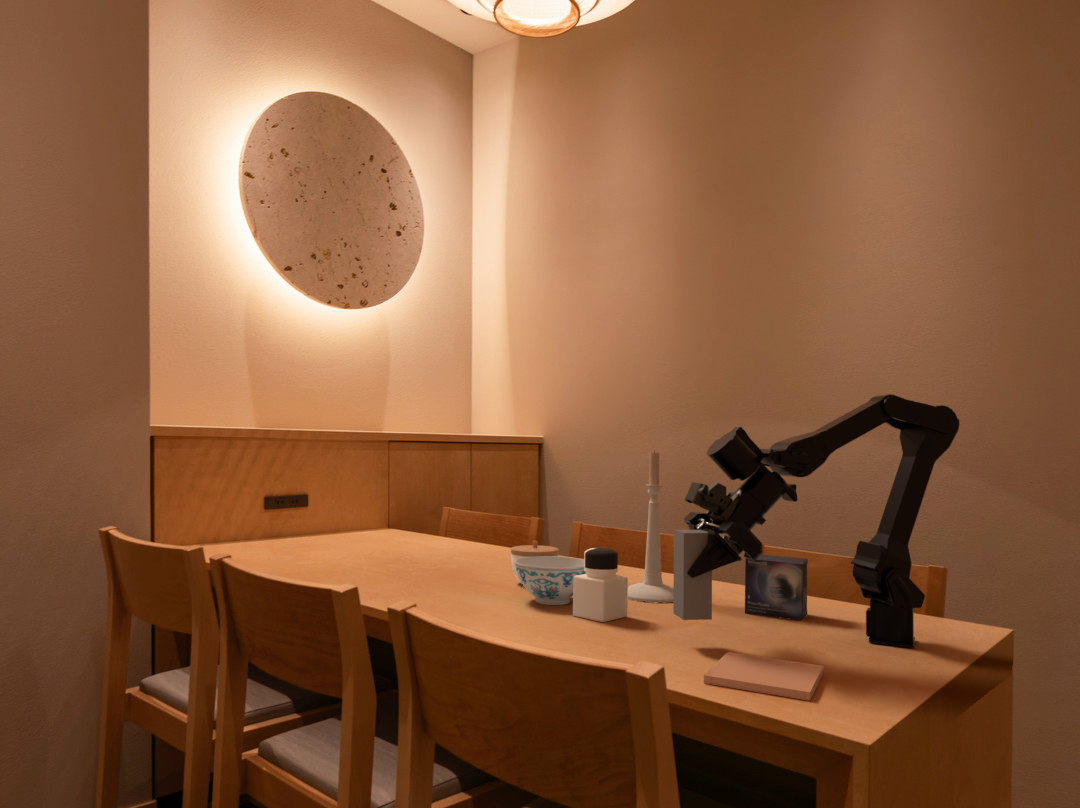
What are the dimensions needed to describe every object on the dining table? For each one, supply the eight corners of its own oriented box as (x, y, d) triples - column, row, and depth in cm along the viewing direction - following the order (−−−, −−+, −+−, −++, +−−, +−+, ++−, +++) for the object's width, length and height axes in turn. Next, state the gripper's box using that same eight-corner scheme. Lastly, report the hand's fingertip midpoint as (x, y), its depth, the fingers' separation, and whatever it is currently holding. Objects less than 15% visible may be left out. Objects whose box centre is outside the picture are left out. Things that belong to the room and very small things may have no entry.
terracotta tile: (823, 673, 102) (823, 665, 102) (809, 700, 90) (809, 692, 90) (727, 659, 108) (727, 651, 108) (703, 683, 96) (703, 675, 96)
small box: (743, 614, 138) (743, 557, 139) (750, 607, 144) (751, 553, 145) (802, 621, 133) (802, 562, 134) (808, 614, 139) (808, 557, 140)
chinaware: (546, 591, 156) (547, 554, 157) (605, 601, 147) (606, 562, 147) (498, 601, 145) (499, 561, 145) (559, 613, 135) (560, 570, 136)
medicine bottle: (628, 616, 134) (629, 549, 134) (603, 623, 128) (604, 552, 129) (596, 610, 139) (598, 545, 139) (571, 616, 133) (573, 548, 134)
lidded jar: (567, 583, 166) (568, 540, 167) (542, 590, 157) (543, 545, 158) (527, 577, 172) (528, 536, 172) (500, 584, 163) (501, 541, 163)
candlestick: (615, 599, 149) (617, 449, 151) (628, 588, 161) (630, 449, 163) (679, 605, 145) (681, 450, 147) (688, 593, 157) (689, 451, 159)
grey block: (700, 612, 117) (701, 529, 118) (711, 619, 113) (712, 533, 114) (673, 613, 117) (673, 529, 117) (683, 619, 112) (683, 533, 113)
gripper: (695, 463, 126) (631, 529, 124) (742, 466, 108) (668, 543, 105) (739, 510, 127) (676, 576, 124) (793, 521, 108) (721, 599, 106)
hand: (684, 573), depth 115 cm, fingers closed on grey block, 4 cm apart
